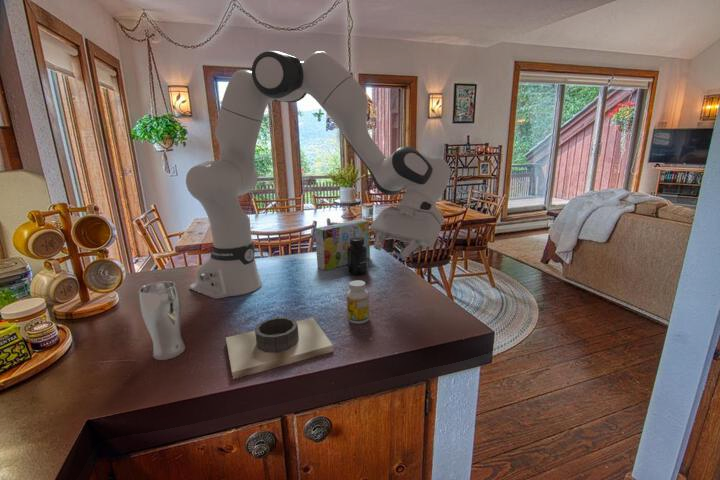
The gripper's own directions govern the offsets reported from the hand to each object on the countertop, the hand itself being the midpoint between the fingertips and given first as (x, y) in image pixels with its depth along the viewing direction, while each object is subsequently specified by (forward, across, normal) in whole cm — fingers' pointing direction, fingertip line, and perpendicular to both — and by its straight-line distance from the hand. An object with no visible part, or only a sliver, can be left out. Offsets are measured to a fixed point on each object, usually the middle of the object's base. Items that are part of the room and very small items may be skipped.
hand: (389, 252), depth 90 cm
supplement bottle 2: (+19, 0, +3) cm, 19 cm away
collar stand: (+33, -2, -12) cm, 36 cm away
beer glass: (+46, -17, -25) cm, 55 cm away
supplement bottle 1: (+3, -26, +18) cm, 32 cm away
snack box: (+1, -37, +21) cm, 43 cm away
